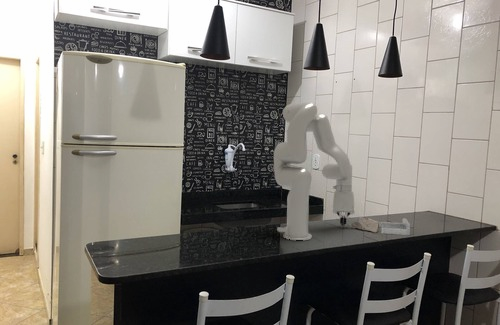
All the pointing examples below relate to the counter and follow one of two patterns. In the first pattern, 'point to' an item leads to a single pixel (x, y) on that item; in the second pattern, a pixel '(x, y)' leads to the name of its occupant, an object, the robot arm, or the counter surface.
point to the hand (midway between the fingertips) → (343, 225)
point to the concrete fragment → (366, 224)
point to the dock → (391, 227)
